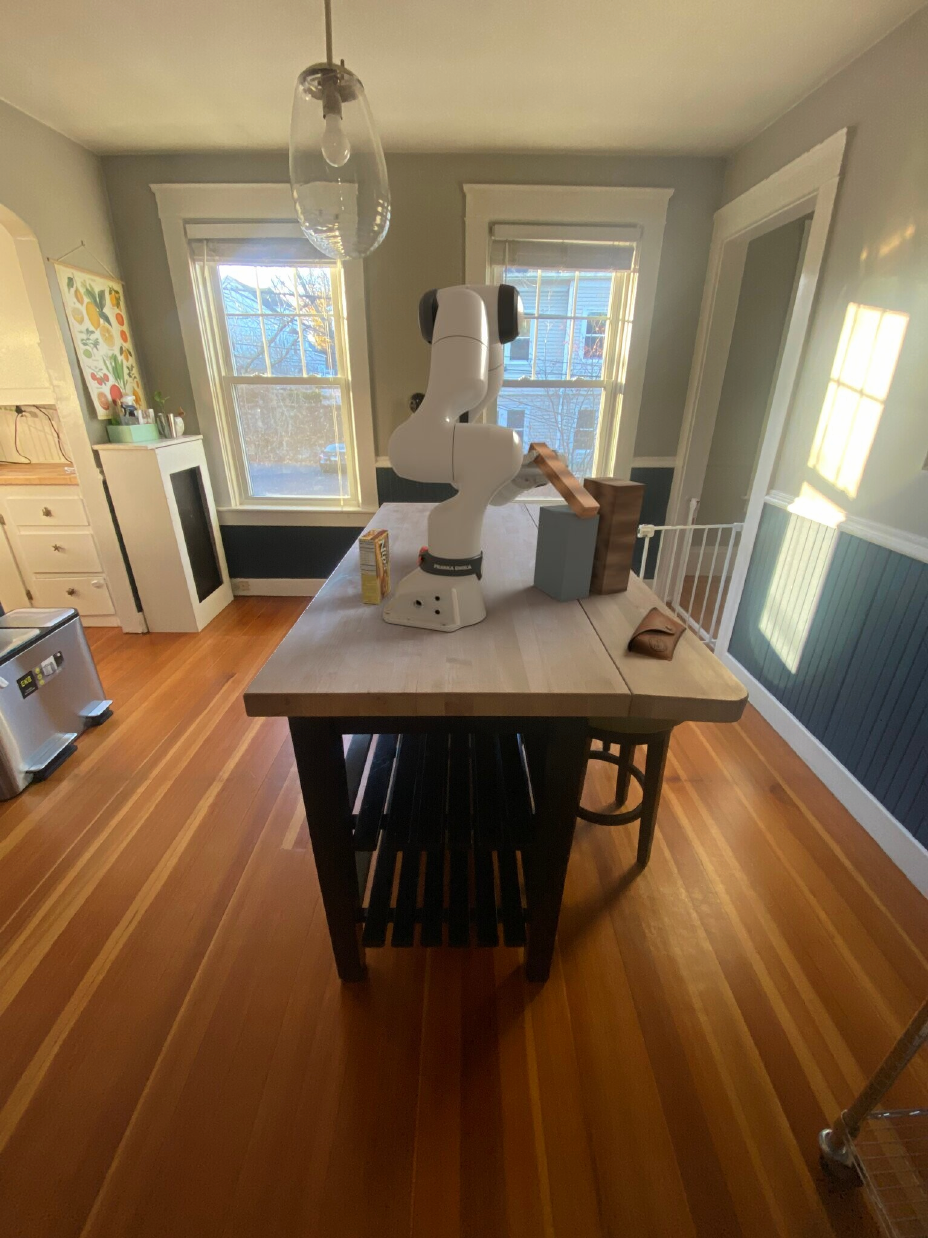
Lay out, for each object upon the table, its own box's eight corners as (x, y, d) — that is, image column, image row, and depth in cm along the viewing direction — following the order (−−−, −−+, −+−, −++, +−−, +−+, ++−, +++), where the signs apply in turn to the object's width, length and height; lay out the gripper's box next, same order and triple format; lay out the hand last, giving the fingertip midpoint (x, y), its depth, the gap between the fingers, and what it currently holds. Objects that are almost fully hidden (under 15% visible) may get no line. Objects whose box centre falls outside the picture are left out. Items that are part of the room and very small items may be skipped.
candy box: (375, 589, 118) (371, 528, 112) (391, 591, 118) (388, 529, 111) (362, 603, 110) (357, 538, 104) (379, 605, 110) (375, 539, 103)
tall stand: (572, 579, 128) (584, 478, 117) (596, 575, 131) (610, 476, 120) (601, 595, 118) (617, 486, 107) (626, 590, 121) (645, 484, 110)
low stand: (533, 585, 123) (539, 506, 115) (559, 581, 126) (567, 504, 118) (560, 602, 113) (570, 517, 105) (588, 597, 116) (599, 514, 108)
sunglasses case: (673, 662, 88) (660, 629, 87) (636, 670, 92) (623, 639, 91) (688, 626, 102) (676, 598, 101) (655, 635, 106) (643, 607, 105)
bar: (527, 453, 120) (530, 442, 117) (540, 453, 121) (544, 442, 119) (580, 518, 105) (585, 507, 103) (594, 517, 106) (600, 506, 104)
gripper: (481, 465, 125) (505, 440, 112) (548, 462, 132) (577, 439, 120) (486, 488, 124) (511, 467, 111) (552, 484, 132) (583, 463, 119)
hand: (546, 452), depth 116 cm, fingers closed on bar, 4 cm apart
